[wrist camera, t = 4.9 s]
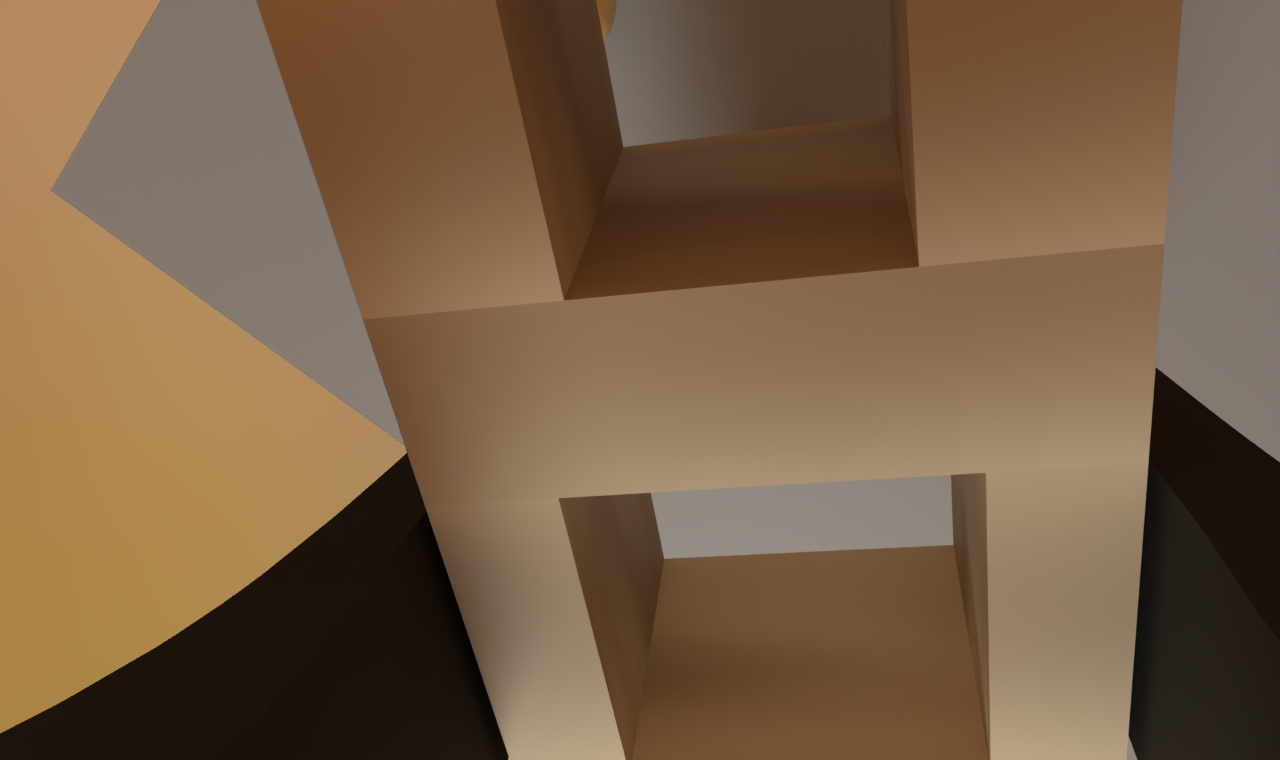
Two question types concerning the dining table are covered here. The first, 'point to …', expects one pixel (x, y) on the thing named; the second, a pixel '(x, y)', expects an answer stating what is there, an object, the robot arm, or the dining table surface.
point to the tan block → (765, 368)
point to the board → (661, 112)
